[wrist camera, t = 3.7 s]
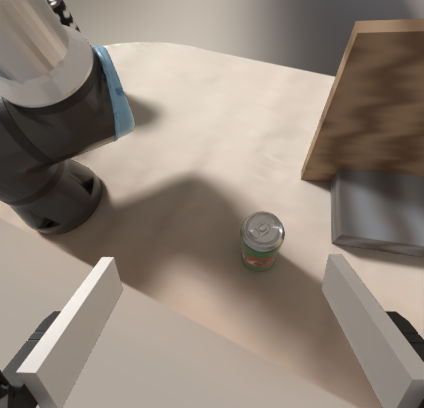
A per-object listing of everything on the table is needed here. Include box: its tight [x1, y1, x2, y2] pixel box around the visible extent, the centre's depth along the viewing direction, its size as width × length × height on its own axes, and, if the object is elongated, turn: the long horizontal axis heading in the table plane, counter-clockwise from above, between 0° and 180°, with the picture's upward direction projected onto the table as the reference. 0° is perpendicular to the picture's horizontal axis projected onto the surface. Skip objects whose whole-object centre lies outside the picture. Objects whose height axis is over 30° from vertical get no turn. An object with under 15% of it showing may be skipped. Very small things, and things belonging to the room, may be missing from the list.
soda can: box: [241, 212, 285, 272], centre depth 31 cm, size 5×5×12 cm
